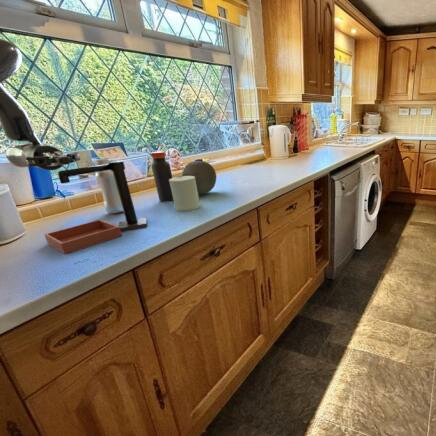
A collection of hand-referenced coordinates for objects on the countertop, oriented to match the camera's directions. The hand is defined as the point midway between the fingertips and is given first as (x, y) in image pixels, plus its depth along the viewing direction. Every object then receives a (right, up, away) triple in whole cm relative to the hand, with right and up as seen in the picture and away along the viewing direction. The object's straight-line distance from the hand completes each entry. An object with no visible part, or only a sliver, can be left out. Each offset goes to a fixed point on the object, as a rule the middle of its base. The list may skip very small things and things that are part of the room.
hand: (65, 160), depth 85 cm
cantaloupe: (+18, -6, +50) cm, 54 cm away
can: (+19, -12, +33) cm, 40 cm away
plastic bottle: (-6, -14, +29) cm, 33 cm away
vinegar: (+5, -8, +45) cm, 46 cm away
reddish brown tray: (+2, -23, +5) cm, 23 cm away
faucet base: (+10, -19, +15) cm, 26 cm away
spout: (+6, -4, +4) cm, 8 cm away
